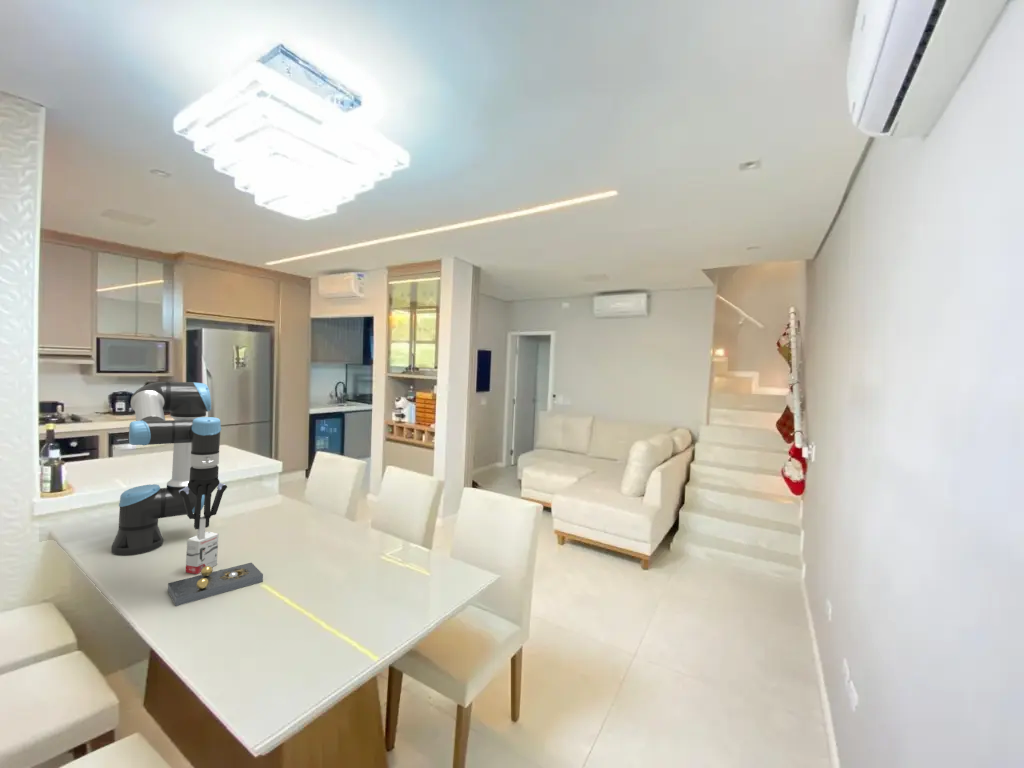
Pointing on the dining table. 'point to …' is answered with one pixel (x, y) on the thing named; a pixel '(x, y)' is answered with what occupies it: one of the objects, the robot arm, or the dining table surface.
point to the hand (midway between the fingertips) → (200, 537)
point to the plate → (214, 583)
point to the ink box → (201, 552)
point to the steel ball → (233, 574)
